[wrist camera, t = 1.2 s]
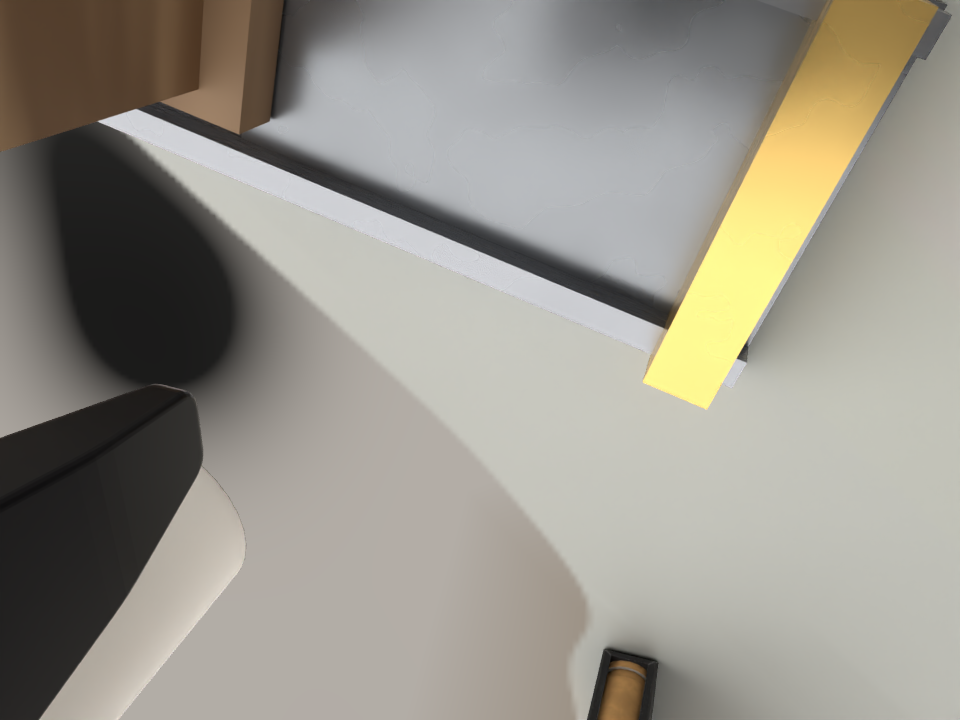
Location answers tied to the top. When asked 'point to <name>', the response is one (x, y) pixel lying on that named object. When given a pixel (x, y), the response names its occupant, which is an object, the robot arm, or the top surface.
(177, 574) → the cup
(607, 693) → the ammunition clip
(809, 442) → the top surface
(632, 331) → the track
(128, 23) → the plate
